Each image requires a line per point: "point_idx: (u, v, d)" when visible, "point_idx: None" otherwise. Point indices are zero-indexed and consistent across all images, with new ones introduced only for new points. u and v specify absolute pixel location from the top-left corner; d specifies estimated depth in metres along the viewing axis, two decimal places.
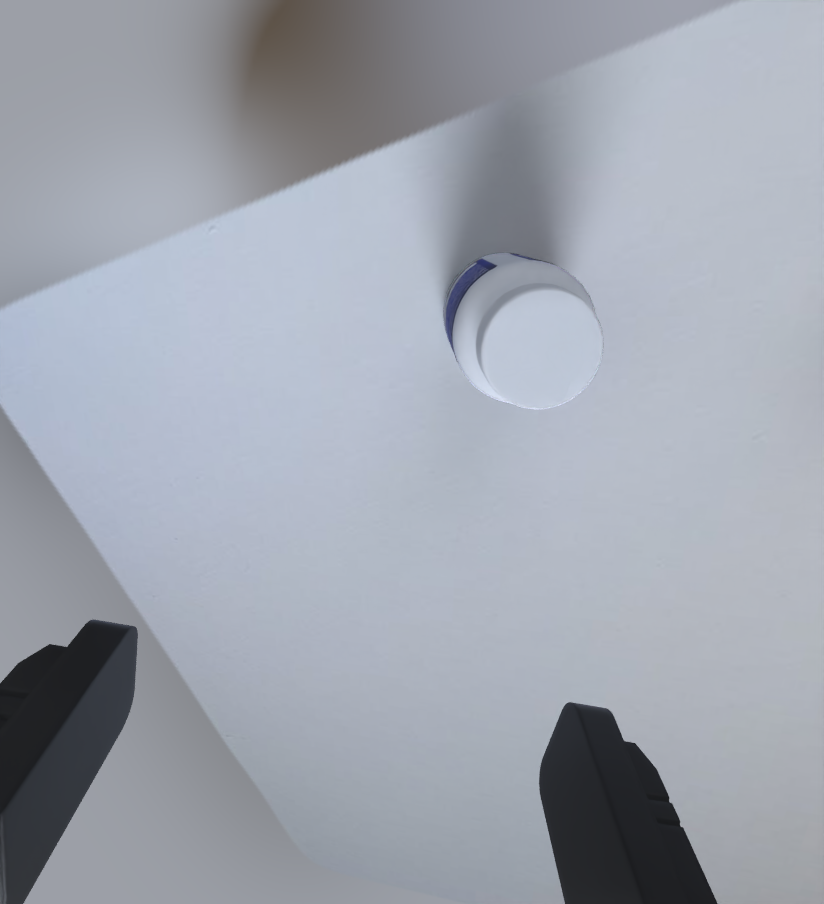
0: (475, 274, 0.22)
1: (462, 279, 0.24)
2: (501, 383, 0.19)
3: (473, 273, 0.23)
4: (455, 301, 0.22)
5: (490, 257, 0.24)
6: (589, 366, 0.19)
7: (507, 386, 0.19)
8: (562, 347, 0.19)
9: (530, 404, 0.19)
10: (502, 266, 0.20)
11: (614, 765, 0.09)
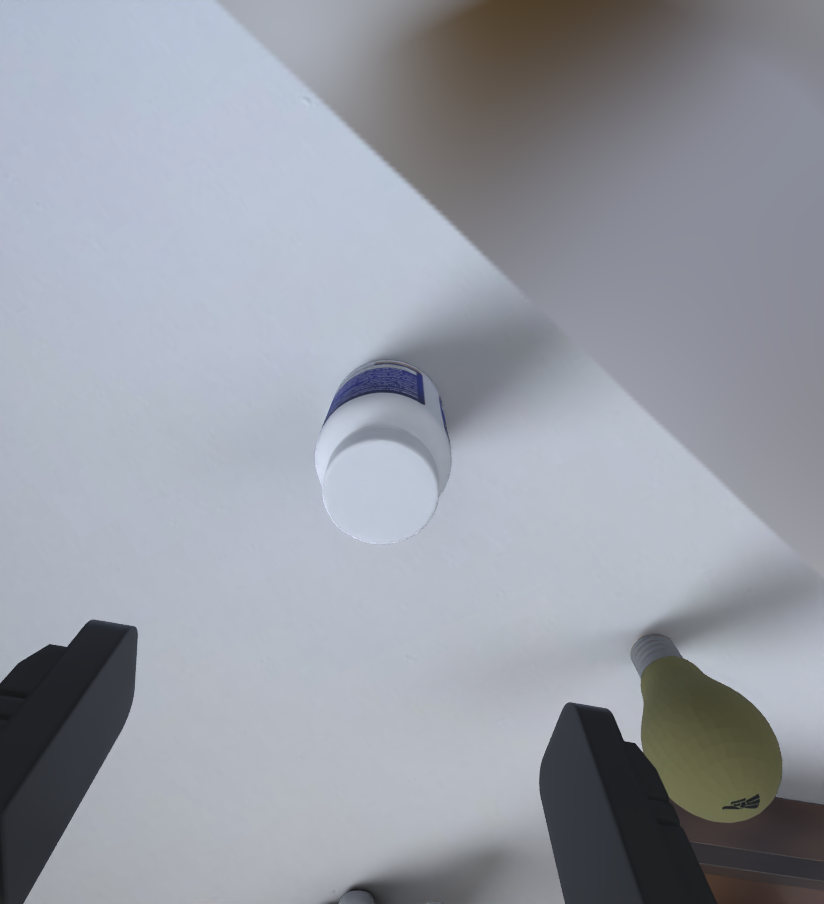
0: (407, 387, 0.23)
1: (397, 373, 0.24)
2: (334, 478, 0.19)
3: (407, 383, 0.23)
4: (376, 383, 0.23)
5: (427, 383, 0.26)
6: (390, 536, 0.20)
7: (334, 484, 0.19)
8: (392, 507, 0.20)
9: (331, 511, 0.20)
10: (427, 411, 0.21)
11: (614, 765, 0.09)
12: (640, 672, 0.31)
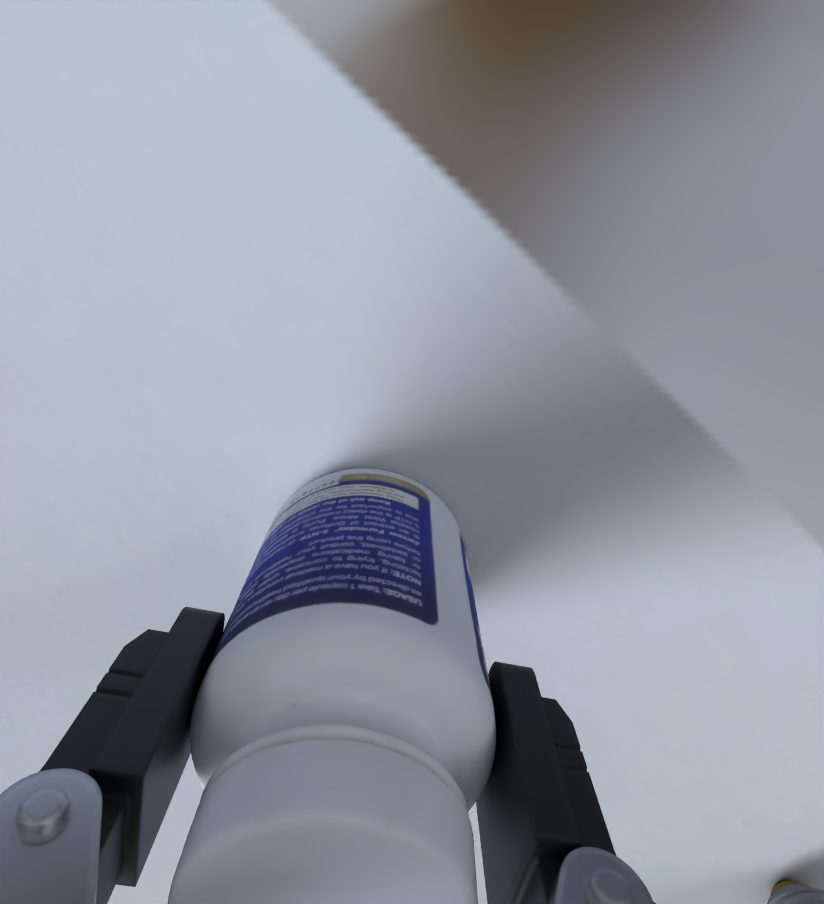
0: (400, 565, 0.11)
1: (379, 517, 0.12)
2: (194, 898, 0.07)
3: (399, 549, 0.11)
4: (332, 559, 0.11)
5: (439, 522, 0.13)
6: None
7: None
8: None
9: None
10: (443, 648, 0.09)
11: (527, 715, 0.10)
12: None
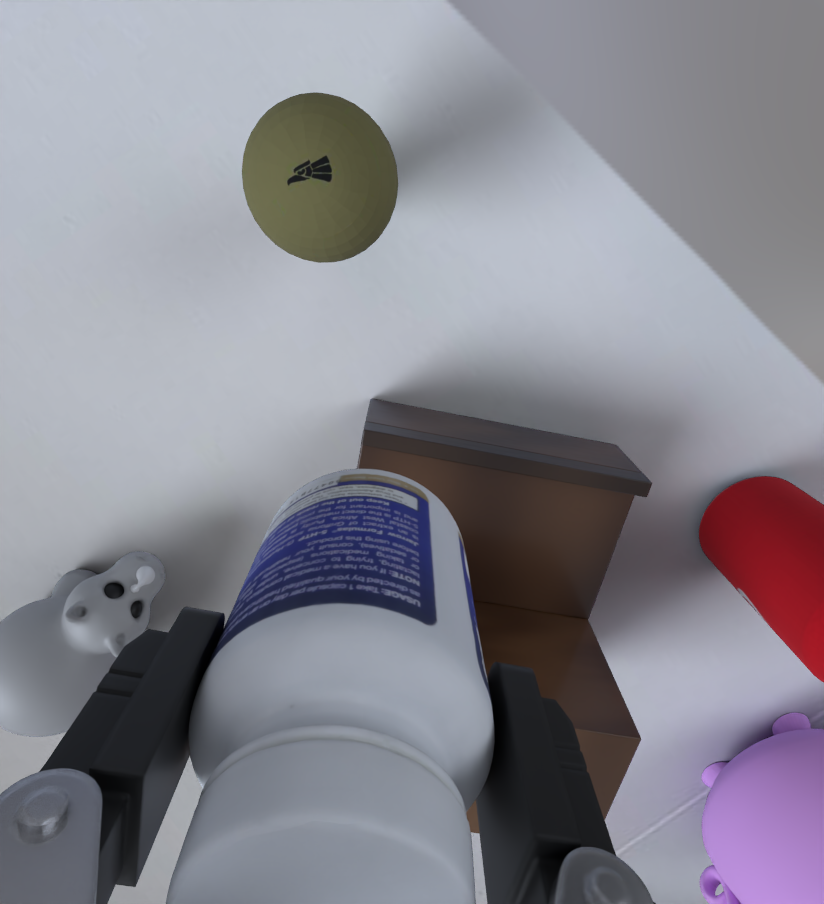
0: (398, 565, 0.11)
1: (378, 517, 0.12)
2: (193, 899, 0.07)
3: (398, 549, 0.11)
4: (330, 559, 0.11)
5: (438, 523, 0.13)
6: None
7: None
8: None
9: None
10: (441, 648, 0.09)
11: (527, 715, 0.10)
12: None
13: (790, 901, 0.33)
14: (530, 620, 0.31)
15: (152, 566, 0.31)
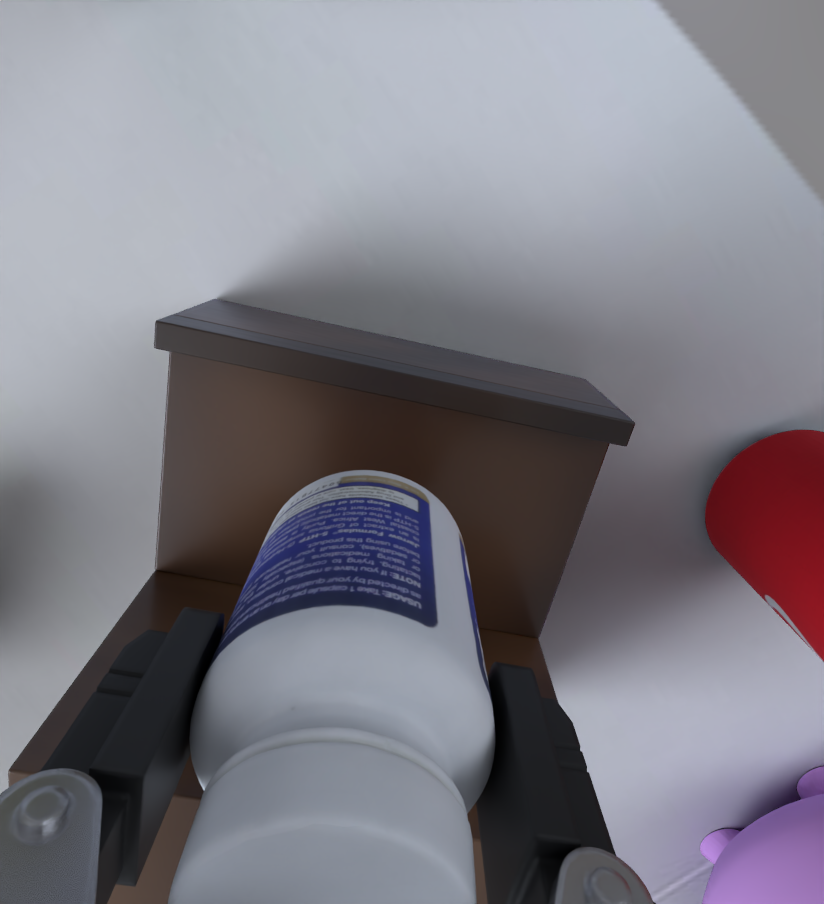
0: (399, 567, 0.11)
1: (379, 519, 0.12)
2: (194, 901, 0.07)
3: (399, 551, 0.11)
4: (331, 561, 0.11)
5: (438, 524, 0.13)
6: None
7: None
8: None
9: None
10: (442, 651, 0.09)
11: (527, 715, 0.10)
12: None
13: None
14: None
15: None
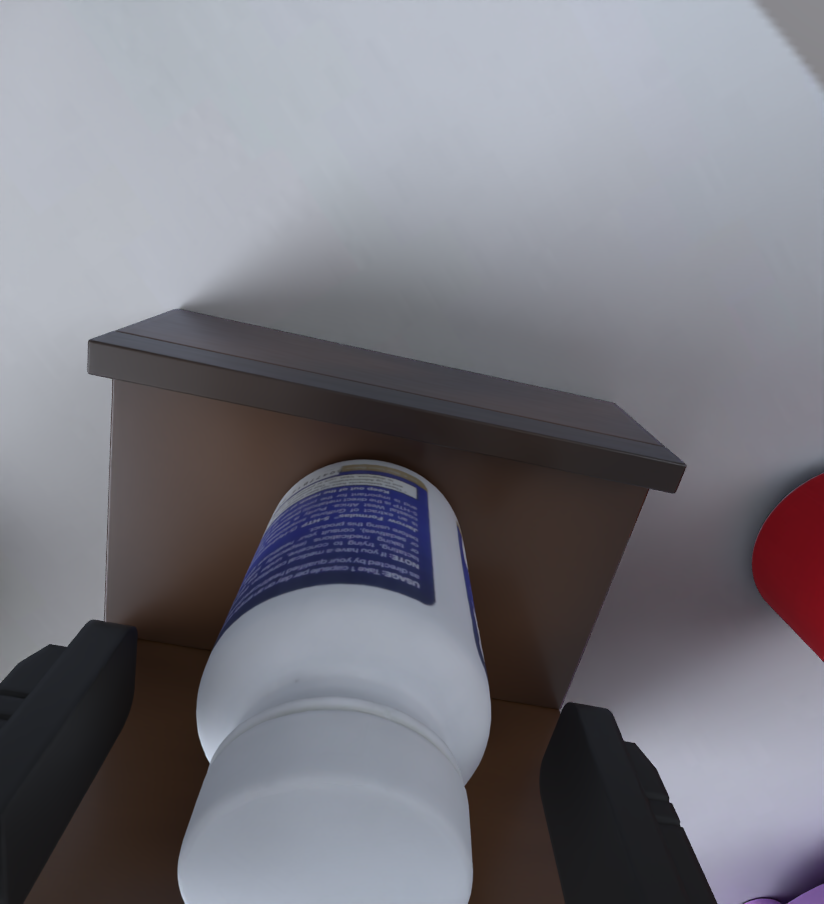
0: (398, 550, 0.11)
1: (378, 504, 0.12)
2: (203, 859, 0.08)
3: (398, 535, 0.12)
4: (333, 543, 0.11)
5: (436, 511, 0.14)
6: None
7: (206, 872, 0.08)
8: None
9: None
10: (440, 627, 0.10)
11: (614, 765, 0.09)
12: None
13: None
14: None
15: None
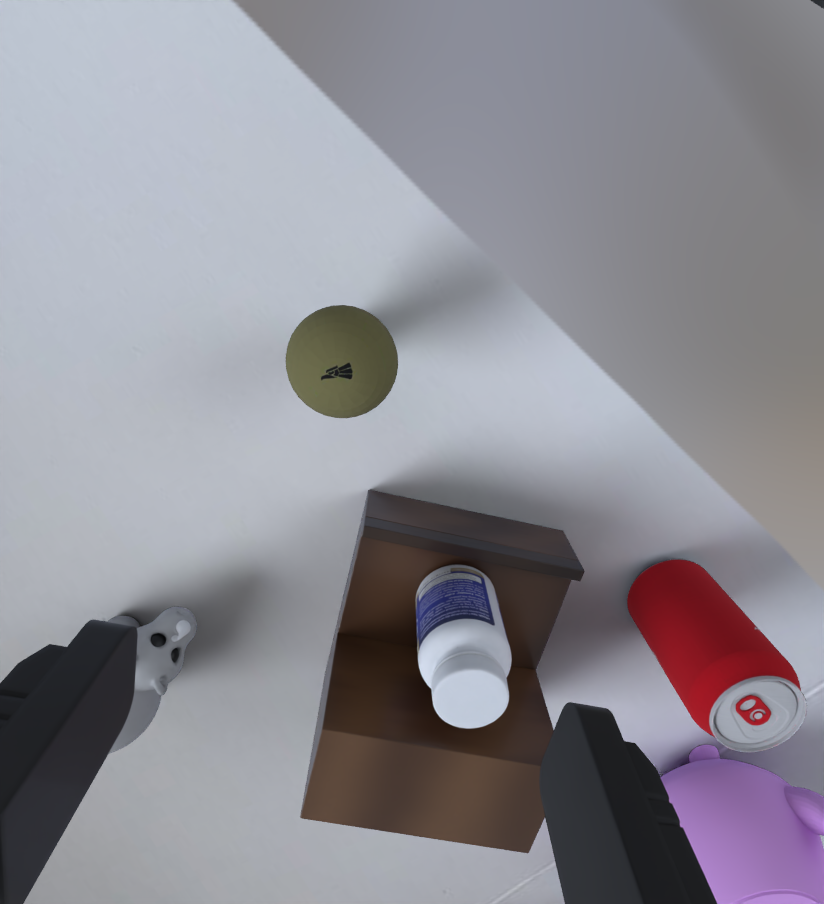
0: (481, 606, 0.33)
1: (470, 588, 0.35)
2: (441, 690, 0.30)
3: (479, 600, 0.34)
4: (459, 604, 0.33)
5: (488, 588, 0.36)
6: (475, 724, 0.31)
7: (441, 694, 0.30)
8: (478, 707, 0.30)
9: (437, 709, 0.30)
10: (497, 632, 0.32)
11: (614, 765, 0.09)
12: None
13: None
14: None
15: (188, 620, 0.39)
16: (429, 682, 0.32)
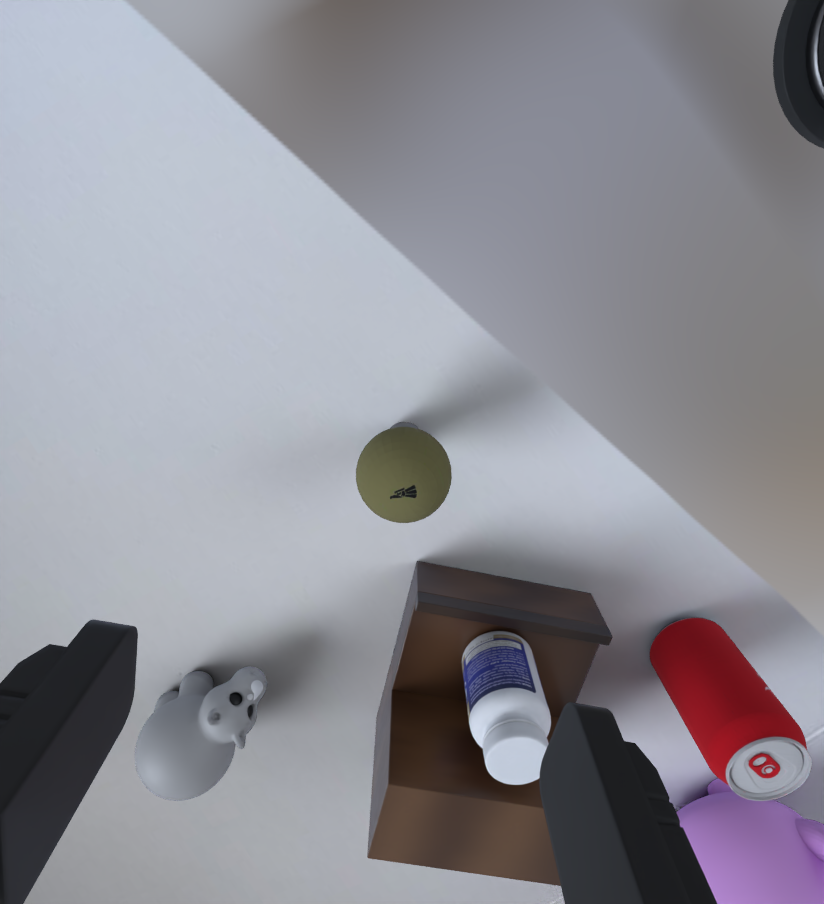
0: (523, 674, 0.38)
1: (512, 655, 0.39)
2: (493, 754, 0.35)
3: (521, 668, 0.39)
4: (504, 673, 0.38)
5: (527, 653, 0.41)
6: (521, 781, 0.35)
7: (493, 757, 0.35)
8: (524, 767, 0.35)
9: (489, 769, 0.35)
10: (538, 699, 0.37)
11: (614, 765, 0.09)
12: None
13: None
14: None
15: (260, 679, 0.44)
16: (479, 742, 0.37)
